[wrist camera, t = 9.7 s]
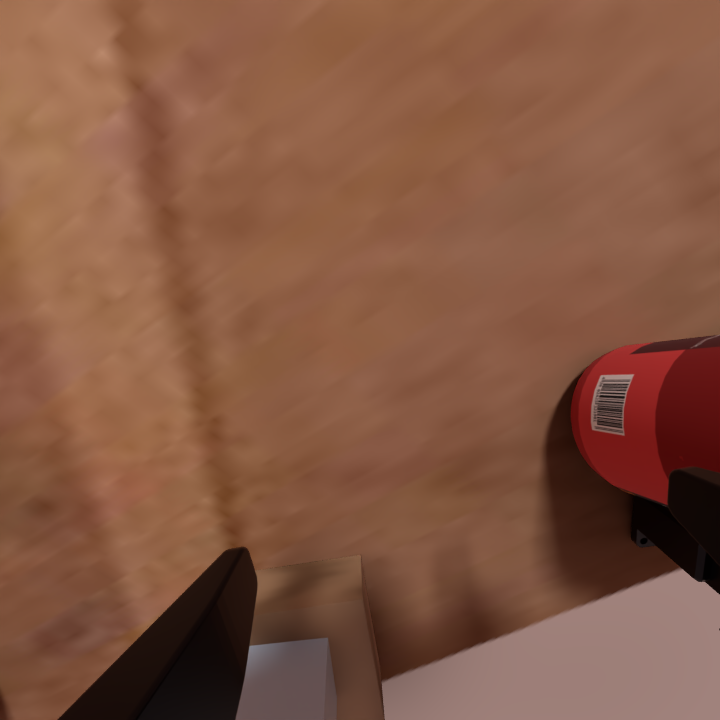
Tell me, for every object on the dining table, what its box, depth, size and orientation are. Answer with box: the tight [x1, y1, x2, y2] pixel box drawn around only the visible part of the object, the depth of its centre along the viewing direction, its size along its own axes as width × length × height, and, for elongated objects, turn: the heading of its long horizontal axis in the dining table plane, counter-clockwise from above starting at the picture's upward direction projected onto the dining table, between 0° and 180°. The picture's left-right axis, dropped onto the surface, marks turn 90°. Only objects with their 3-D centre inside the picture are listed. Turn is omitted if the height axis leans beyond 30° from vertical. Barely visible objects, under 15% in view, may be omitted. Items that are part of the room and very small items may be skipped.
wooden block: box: [250, 555, 385, 720], centre depth 22 cm, size 10×10×4 cm
